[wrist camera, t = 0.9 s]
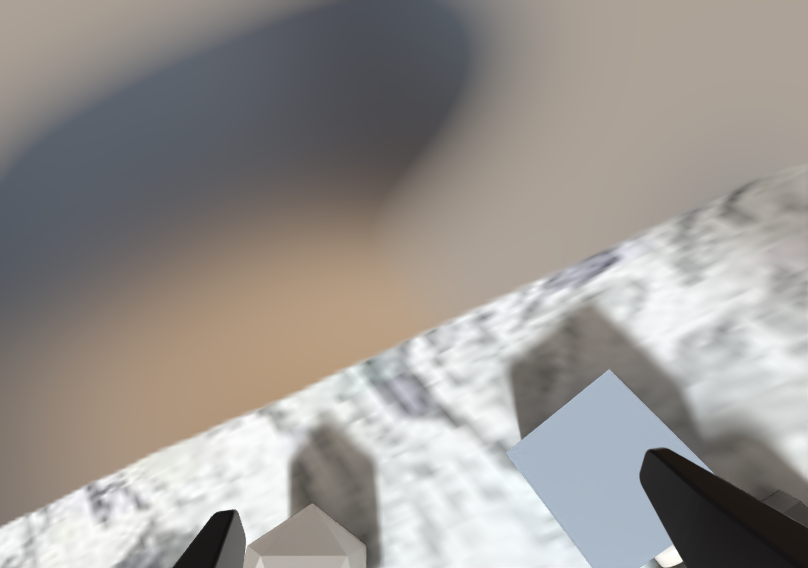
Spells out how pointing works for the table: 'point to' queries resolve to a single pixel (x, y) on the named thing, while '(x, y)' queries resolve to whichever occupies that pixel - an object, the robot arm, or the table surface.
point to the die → (307, 544)
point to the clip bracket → (789, 506)
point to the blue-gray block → (601, 474)
